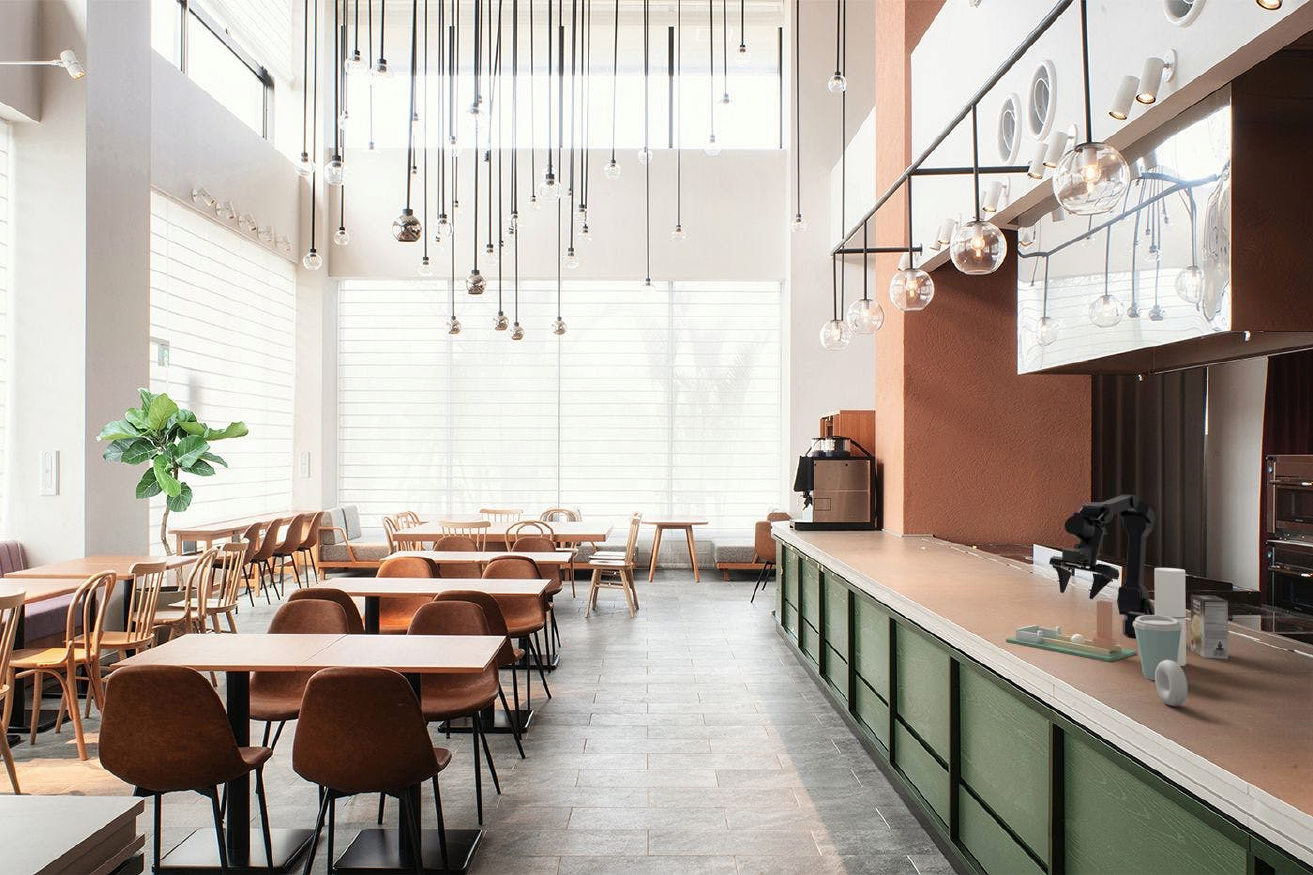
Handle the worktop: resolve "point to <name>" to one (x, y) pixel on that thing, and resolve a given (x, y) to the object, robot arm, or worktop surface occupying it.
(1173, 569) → the cylindrical container
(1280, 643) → the worktop surface
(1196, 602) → the coffee box
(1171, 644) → the disposable coffee cup
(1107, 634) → the player
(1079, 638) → the ball
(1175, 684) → the donut
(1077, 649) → the board
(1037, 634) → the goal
